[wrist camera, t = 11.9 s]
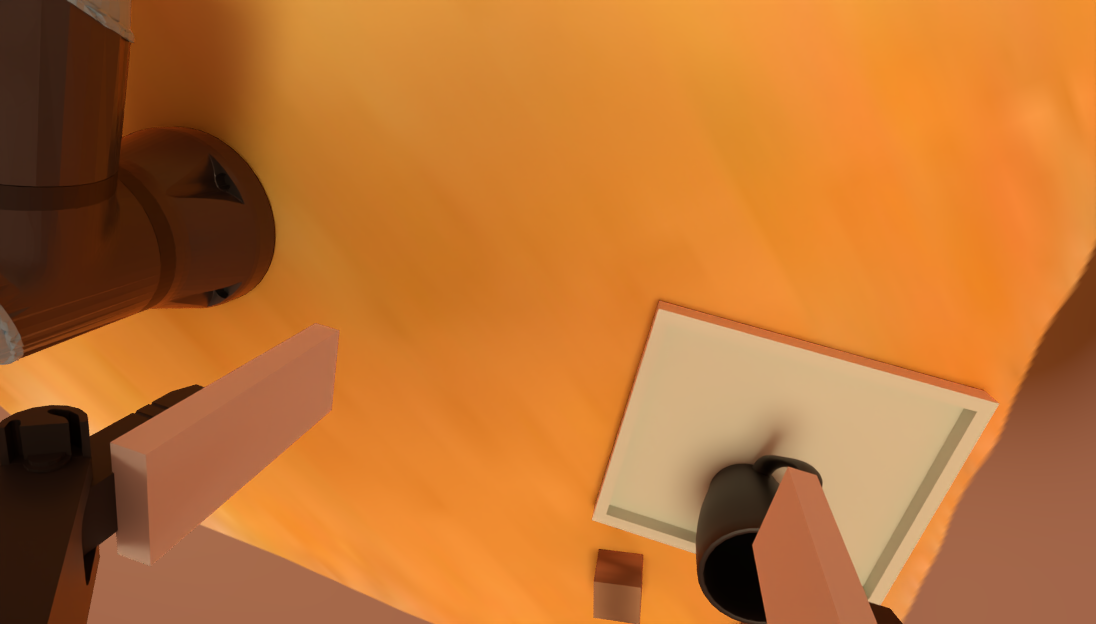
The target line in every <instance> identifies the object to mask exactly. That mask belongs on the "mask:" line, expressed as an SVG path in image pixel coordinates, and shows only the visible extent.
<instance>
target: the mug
mask: <svg viewBox="0 0 1096 624" xmlns="http://www.w3.org/2000/svg"><path fill="white" fill-rule="evenodd" d="M781 467H791V468H794V469H798V470H801V471H804V472H808V473H811V474H814V475H817V477H818V479H819V482H820V484H821V487H822V485H823V481H822V477H821V475H820V473H819V472H818V471H817V470H816V469H815V468H814V467H813V466H811V465H810V464H808V463H806V462H804V461H801V460H798V459H794V458H788V457H782V456H776V455H765V456H762V457H760V458H759V459H758V460H757V461H756V462H755V463H754V465H752V464H734V465H730V466H728V467H725V468H723V469H722V470H720V471H719V472H718V473H717V474H716V475H715V476H714V477H713V479H712V481H711V483H710V485H709V489H708V492H707V494H706V496H705V499H704V501H703V504H702V507H701V510H700V514H699V519H698V525H697V532H696V562H697V575H698V582H699V584H700V587H701V589H702V591H703V593H704V595H705V596H706V598H707V599H708V600H709V602H710V603H711V604H712V605H713V606H714V607H715V608H717V609H718V610H719V611H720V612H722V613H723V614H725V615H727V616H728V617H730V618H732V619H735V620H737V621H740V622H743V623H747V624H767V620H766V615H765V609H764V604H763V599H762V594H761V588H760V583H759V578H758V573H757V567H756V562H755V557H754V552H753V546H752V544H753V542H754V540H755V538H756V536H757V533H758V531H759V529H760V527H761V525H762V522H763V520H764V518H765V516H766V514H767V512H768V509H769V507H770V505H771V503H772V501H773V498H774V496H775V494H776V492H777V490H778V487H779V485H780V484H779V483H778V482H777V481H776V480H775V478H774V477H773V476H772V474H773V472H774V471H776V470H777V469H779V468H781Z"/></svg>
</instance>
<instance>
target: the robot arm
mask: <svg viewBox="0 0 1096 624" xmlns="http://www.w3.org/2000/svg"><path fill="white" fill-rule="evenodd" d="M134 40H135V37H134V34H133V32H132V31H131V0H0V365H4V364H10V363H12V362H14V361H16V360H19V359H20V358H23V357H25V356H28V355H30V354H33V353H36V352H38V351H41V350H43V349H46V348H49V347H51V346H54V345H56V344H59V343H61V342H64V341H67V340H69V339H72V338H74V337H77V336H79V335H82V334H85V333H87V332H90V331H92V330H95V329H98V328H100V327H103V326H105V325H108V324H110V323H113V322H116V321H118V320H121V319H123V318H126V317H129V316H131V315H133V314H136V313H139V312H141V311H144V310H147V309H157V308H207V307H212V306H217V305H221V304H223V303H226V302H228V301H231V300H233V299H236V298H238V297H240V296H243V295H244V294H246V293H248V292H249V291H251V290H252V289H253V288H254V287H255V286H256V285H257V284H258V283H259V282H260V281H261V280H262V278H263V277H264V275H265V273H266V272H267V270H268V267H269V265H270V262H271V259H272V255H273V250H274V239H275V234H274V222H273V217H272V212H271V208H270V205H269V202H268V199H267V197H266V194H265V192H264V190H263V188H262V186H261V184H260V182H259V180H258V179H257V177H256V176H255V174H254V173H253V171H252V170H251V168H250V167H249V166H248V165H247V163H246V162H245V161H244V160H243V159H242V158H241V157H240V156H239V155H238V154H237V153H236V152H235V151H234V150H233V149H232V148H230V147H229V146H228V145H226V144H225V143H223V142H222V141H220V140H219V139H217V138H215V137H214V136H212V135H209V134H207V133H205V132H202V131H199V130H196V129H191V128H185V127H158V128H148V129H144V130H140V131H137V132H134V133H131V134H129V135H127V136H125V137H123V138H122V128H123V118H124V107H125V97H126V87H127V76H128V66H129V55H130V45H131V43H134ZM338 339H339V330H336V329H333V328H330V327H326V326H323V325H320V324H317V323H315V324H313V325H312V326H310V327H308V328H306V329H305V330H303V331H301V332H300V333H298V334H296V335H294V336H293V337H291V338H289V339H287V340H286V341H284V342H282V343H281V344H279V345H277V346H275V347H274V348H272V349H270V350H269V351H267V352H265V353H263V354H262V355H260V356H258V357H256V358H255V359H253V360H251V361H250V362H248V363H246V364H244V365H243V366H241V367H239V368H237V369H236V370H234V371H232V372H231V373H229V374H227V375H225V376H224V377H222V378H220V379H219V380H217V381H215V382H213V383H212V384H210V385H208V386H206V387H202V386H199V385H193V386H189V387H186V388H182V389H179V390H175V391H172V392H170V393H168V394H166V395H164V396H162V397H161V398H159V399H157V400H155V401H153V402H152V404H151V405H149V404H148V405H146V406H144V407H142V408H141V409H139V410H137V411H136V413H135V414H134V413H132V414H130V415H128V416H126V417H124V418H122V419H121V420H119V421H117V422H115V423H113V424H112V425H110V426H108V427H106V428H104V429H102V430H101V431H99V432H97V433H95V434H93V435H92V436H90V437H89V425H88V417H87V414H86V413H85V412H83V411H82V410H81V409H79V408H75V407H70V406H60V405H49V406H42V407H35V408H31V409H27V410H24V411H21V412H17V413H15V414H13V415H11V416H9V417H8V418H6V419H4V420H2V421H1V422H0V624H87V618H88V613H89V609H90V603H91V598H92V594H93V588H94V583H95V578H96V573H97V568H98V563H99V558H100V555H99V544H101V543H102V542H103V541H104V540H106V539H107V538H109V537H110V536H111V535H113V534H114V533H115V532H116V536H117V550H118V554H119V555H122V556H124V557H127V558H130V559H133V560H135V561H138V562H141V563H143V564H146V565H149V566H151V565H153V564H154V563H155V562H156V561H157V560H158V559H160V558H161V557H162V556H163V555H164V554H165V553H167V552H168V551H169V550H170V549H171V548H172V547H173V546H175V545H176V544H177V543H178V542H179V541H180V540H182V539H183V538H184V537H185V536H186V535H187V534H189V533H190V532H191V531H192V530H193V529H194V528H195V527H197V526H198V525H199V524H200V523H201V522H202V521H204V520H205V519H206V518H207V517H208V516H209V515H211V514H212V513H213V512H214V511H215V510H216V509H217V508H219V507H220V506H221V505H222V504H223V503H224V502H226V501H227V500H228V499H229V498H230V497H231V496H233V495H234V494H235V493H236V492H237V491H238V490H239V489H241V488H242V487H243V486H244V485H245V484H246V483H248V482H249V481H250V480H251V479H252V478H253V477H255V476H256V475H257V474H258V473H259V472H260V471H261V470H263V469H264V468H265V467H266V466H267V465H268V464H270V463H271V462H272V461H273V460H274V459H275V458H277V457H278V456H279V455H280V454H281V453H282V452H283V451H285V450H286V449H287V448H288V447H289V446H290V445H292V444H293V443H294V442H295V441H296V440H297V439H299V438H300V437H301V436H302V435H303V434H304V433H305V432H307V431H308V430H309V429H310V428H311V427H312V426H314V425H315V424H316V423H317V422H318V421H319V420H321V419H322V418H323V417H324V416H325V415H326V414H327V413H329V412H330V411H331V410H332V401H333V390H334V380H335V370H336V359H337V349H338ZM752 546H753V552H754V557H755V562H756V567H757V573H758V578H759V583H760V588H761V594H762V599H763V604H764V609H765V615H766V620H767V624H902V622H901V621H900V620H899V619H898V618H897V616H896V615H895V614H894V613H893V611H892V610H891V609H890V608H887V607H884V606H881V605H877V604H874V603H871V602H868V600H867V597H866V595H865V592H864V590H863V587H862V585H861V582H860V580H859V577H858V575H857V573H856V570H855V568H854V565H853V563H852V560H851V558H850V555H849V553H848V551H847V548H846V546H845V543H844V541H843V538H842V536H841V533H840V531H839V528H838V526H837V524H836V521H835V519H834V516H833V514H832V511H831V509H830V506H829V504H828V501H827V499H826V497H825V494H824V492H823V489H822V487H821V484H820V482H819V479H818V477H817V475H814V474H811V473H808V472H804V471H801V470H798V469H794V468H791V467H788V468H787V470H786V472H785V474H784V476H783V479H782V481H781V483H780V485H779V487H778V490H777V492H776V494H775V496H774V498H773V501H772V503H771V505H770V507H769V509H768V512H767V514H766V516H765V518H764V520H763V522H762V525H761V527H760V529H759V531H758V533H757V536H756V538H755V540H754V542H753V544H752Z"/></svg>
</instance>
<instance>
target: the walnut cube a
mask: <svg viewBox="0 0 1096 624" xmlns="http://www.w3.org/2000/svg"><path fill="white" fill-rule="evenodd" d="M642 570H643V555H642V554H634V553H626V552H618V551H610V550H602V549H599V553H598V559H597V565H596V571H595V577H594V618H600V619H607V620H613V621H620V622H627V623H633V624H640V610H641V593H642Z"/></svg>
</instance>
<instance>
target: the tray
mask: <svg viewBox="0 0 1096 624" xmlns="http://www.w3.org/2000/svg"><path fill="white" fill-rule="evenodd" d="M998 405H999V403H998V402H997V401H996V400H994V399H993V398H992V397H991V396H990V395H989V394H987V393H986V392H985V391H983V390H980V389H976V388H972V387H969V386H965V385H962V384H958V383H954V382H951V381H947V380H944V379H940V378H936V377H933V376H929V375H926V374H922V373H918V372H915V371H911V370H908V369H904V368H900V367H897V366H893V365H890V364H886V363H882V362H879V361H875V360H872V359H868V358H864V357H861V356H857V355H854V354H850V353H846V352H843V351H839V350H836V349H832V348H828V347H825V346H821V345H818V344H814V343H810V342H807V341H803V340H800V339H796V338H792V337H789V336H785V335H782V334H778V333H774V332H771V331H767V330H764V329H760V328H756V327H753V326H749V325H746V324H742V323H738V322H735V321H731V320H728V319H724V318H720V317H717V316H713V315H710V314H706V313H702V312H699V311H695V310H692V309H688V308H684V307H681V306H677V305H674V304H670V303H666V302H663V301H659V303H658V306H657V309H656V312H655V315H654V319H653V322H652V325H651V328H650V331H649V335H648V338H647V341H646V344H645V347H644V350H643V354H642V357H641V360H640V363H639V366H638V369H637V373H636V376H635V379H634V382H633V385H632V389H631V392H630V395H629V398H628V401H627V404H626V408H625V411H624V414H623V417H622V420H621V424H620V427H619V430H618V433H617V436H616V439H615V443H614V446H613V449H612V452H611V455H610V458H609V462H608V465H607V468H606V471H605V474H604V478H603V481H602V484H601V487H600V490H599V493H598V497H597V500H596V503H595V507H594V512H593V517H592V520H594V521H597V522H600V523H603V524H606V525H609V526H612V527H615V528H618V529H621V530H624V531H627V532H631V533H634V534H637V535H640V536H643V537H646V538H649V539H652V540H655V541H658V542H661V543H664V544H667V545H670V546H673V547H676V548H680V549H683V550H686V551H689V552H692V553H695V554H696V532H697V525H698V519H699V514H700V510H701V507H702V504H703V501H704V499H705V496H706V494H707V492H708V489H709V485H710V483H711V481H712V479H713V477H714V476H715V475H716V474H717V473H718V472H719V471H720V470H722V469H723V468H725V467H728V466H730V465H734V464H752V465H754V463H755V462H756V461H757V460H758V459H759V458H760V457H762V456H765V455H776V456H782V457H788V458H794V459H798V460H801V461H804V462H806V463H808V464H810V465H811V466H813V467H814V468H815V469H816V470H817V471H818V472H819V473H820V475H821V477H822V481H823V485H822V489H823V492H824V494H825V497H826V499H827V501H828V504H829V506H830V509H831V511H832V514H833V516H834V519H835V521H836V524H837V526H838V528H839V531H840V533H841V536H842V538H843V541H844V543H845V546H846V548H847V551H848V553H849V555H850V558H851V560H852V563H853V565H854V568H855V570H856V573H857V575H858V577H859V580H860V582H861V585H862V587H863V590H864V592H865V595H866V597H867V600H868V602H871V603H874V604H877V605H881V603H882V602H883V600H884V598H885V597H886V595H887V593H888V592H889V590H890V588H891V586H892V585H893V583H894V581H895V580H896V578H897V576H898V575H899V573H900V571H901V570H902V568H903V566H904V564H905V563H906V561H907V559H908V558H909V556H910V554H911V553H912V551H913V549H914V547H915V546H916V544H917V542H918V541H919V539H920V537H921V536H922V534H923V532H924V531H925V529H926V527H927V525H928V524H929V522H930V520H931V519H932V517H933V515H934V514H935V512H936V510H937V509H938V507H939V505H940V503H941V502H942V500H943V498H944V497H945V495H946V493H947V492H948V490H949V488H950V486H951V485H952V483H953V481H954V480H955V478H956V476H957V475H958V473H959V471H960V470H961V468H962V466H963V464H964V463H965V461H966V459H967V458H968V456H969V454H970V453H971V451H972V449H973V448H974V446H975V444H976V442H977V441H978V439H979V437H980V436H981V434H982V432H983V431H984V429H985V427H986V425H987V424H988V422H989V420H990V419H991V417H992V415H993V414H994V412H995V410H996V409H997V407H998ZM787 468H788V467H781V468H779V469H777V470H776V471H774V472H773V474H772V476H773V477H774V478H775V480H776V481H777V482H778V483H779V484H780V483H781V481H782V479H783V476H784V474H785V472H786V470H787Z"/></svg>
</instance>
